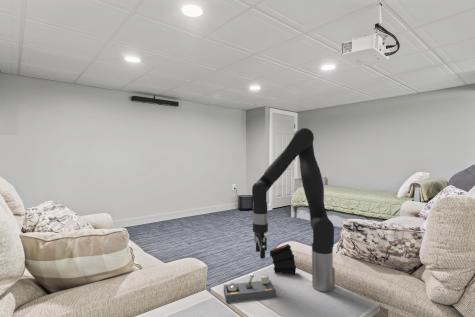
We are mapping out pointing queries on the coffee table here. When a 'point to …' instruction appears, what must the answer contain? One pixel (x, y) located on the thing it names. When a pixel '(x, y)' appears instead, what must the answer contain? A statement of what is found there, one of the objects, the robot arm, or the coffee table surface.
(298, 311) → the coffee table surface
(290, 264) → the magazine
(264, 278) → the slider
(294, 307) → the coffee table surface
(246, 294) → the panel
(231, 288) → the button
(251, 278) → the toggle
